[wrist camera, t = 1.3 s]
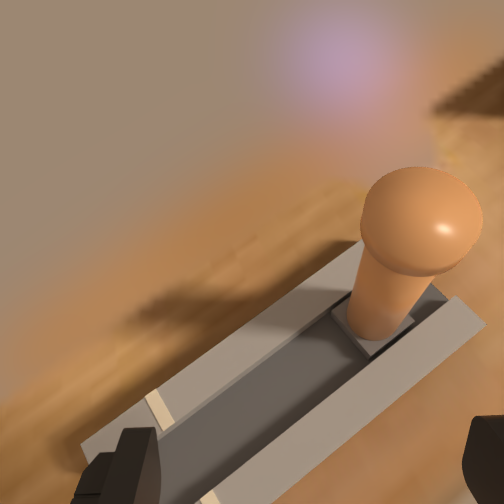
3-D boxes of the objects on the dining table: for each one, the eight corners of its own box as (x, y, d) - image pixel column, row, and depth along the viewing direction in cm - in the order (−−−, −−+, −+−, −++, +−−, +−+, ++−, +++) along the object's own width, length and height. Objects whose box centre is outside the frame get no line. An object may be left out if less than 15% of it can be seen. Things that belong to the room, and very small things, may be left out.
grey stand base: (375, 242, 31) (381, 223, 28) (471, 335, 27) (487, 324, 24) (100, 444, 27) (79, 444, 24) (166, 588, 23) (148, 605, 20)
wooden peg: (371, 281, 28) (421, 149, 16) (415, 326, 26) (508, 218, 14) (326, 315, 27) (341, 206, 15) (367, 364, 25) (422, 285, 13)
